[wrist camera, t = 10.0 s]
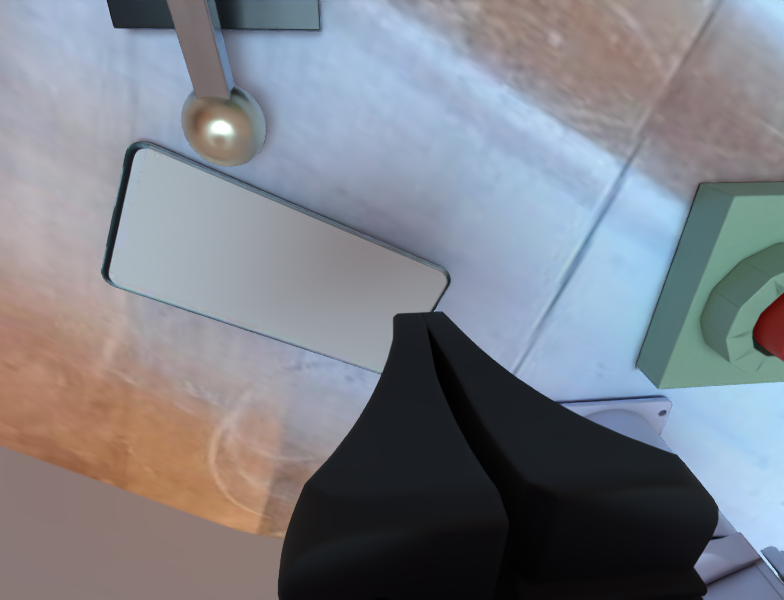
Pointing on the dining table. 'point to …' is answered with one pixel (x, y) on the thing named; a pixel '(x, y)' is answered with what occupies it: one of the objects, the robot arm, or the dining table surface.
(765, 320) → the warm button
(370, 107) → the dining table surface
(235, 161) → the switch lever
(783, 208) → the control block
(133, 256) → the smartphone
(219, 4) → the switch bracket
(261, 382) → the dining table surface
